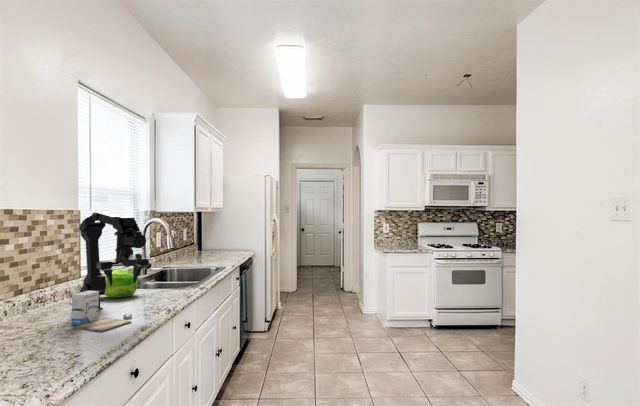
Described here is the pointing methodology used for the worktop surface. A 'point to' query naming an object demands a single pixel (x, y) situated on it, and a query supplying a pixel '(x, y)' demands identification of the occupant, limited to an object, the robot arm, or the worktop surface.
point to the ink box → (85, 307)
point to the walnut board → (103, 324)
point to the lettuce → (121, 284)
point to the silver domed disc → (127, 316)
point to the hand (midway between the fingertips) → (123, 284)
